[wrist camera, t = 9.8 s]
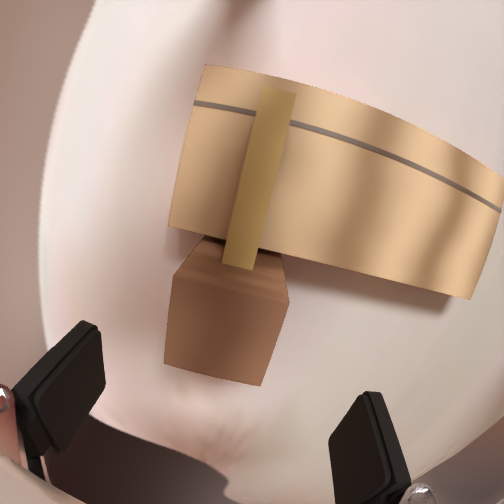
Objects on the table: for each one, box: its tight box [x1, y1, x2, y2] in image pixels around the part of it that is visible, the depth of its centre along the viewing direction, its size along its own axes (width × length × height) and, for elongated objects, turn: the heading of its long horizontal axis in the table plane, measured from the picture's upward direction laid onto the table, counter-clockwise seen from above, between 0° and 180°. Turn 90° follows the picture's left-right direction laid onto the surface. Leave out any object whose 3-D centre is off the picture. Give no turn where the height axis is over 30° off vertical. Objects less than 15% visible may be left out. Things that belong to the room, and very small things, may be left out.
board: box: [168, 64, 504, 300], centre depth 17 cm, size 23×10×3 cm, turn 76°
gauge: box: [164, 86, 296, 386], centre depth 15 cm, size 5×14×8 cm, turn 167°
